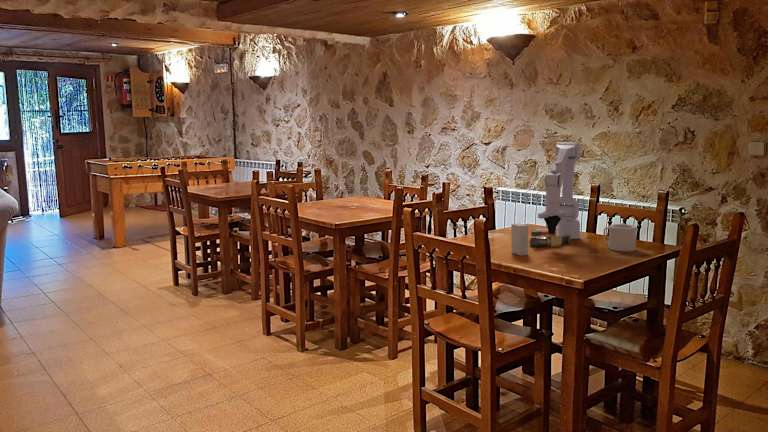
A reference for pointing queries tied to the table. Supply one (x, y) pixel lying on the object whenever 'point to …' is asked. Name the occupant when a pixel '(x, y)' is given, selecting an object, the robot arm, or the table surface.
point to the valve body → (554, 240)
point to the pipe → (544, 241)
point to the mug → (621, 237)
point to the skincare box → (519, 239)
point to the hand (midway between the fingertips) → (551, 233)
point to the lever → (540, 233)
